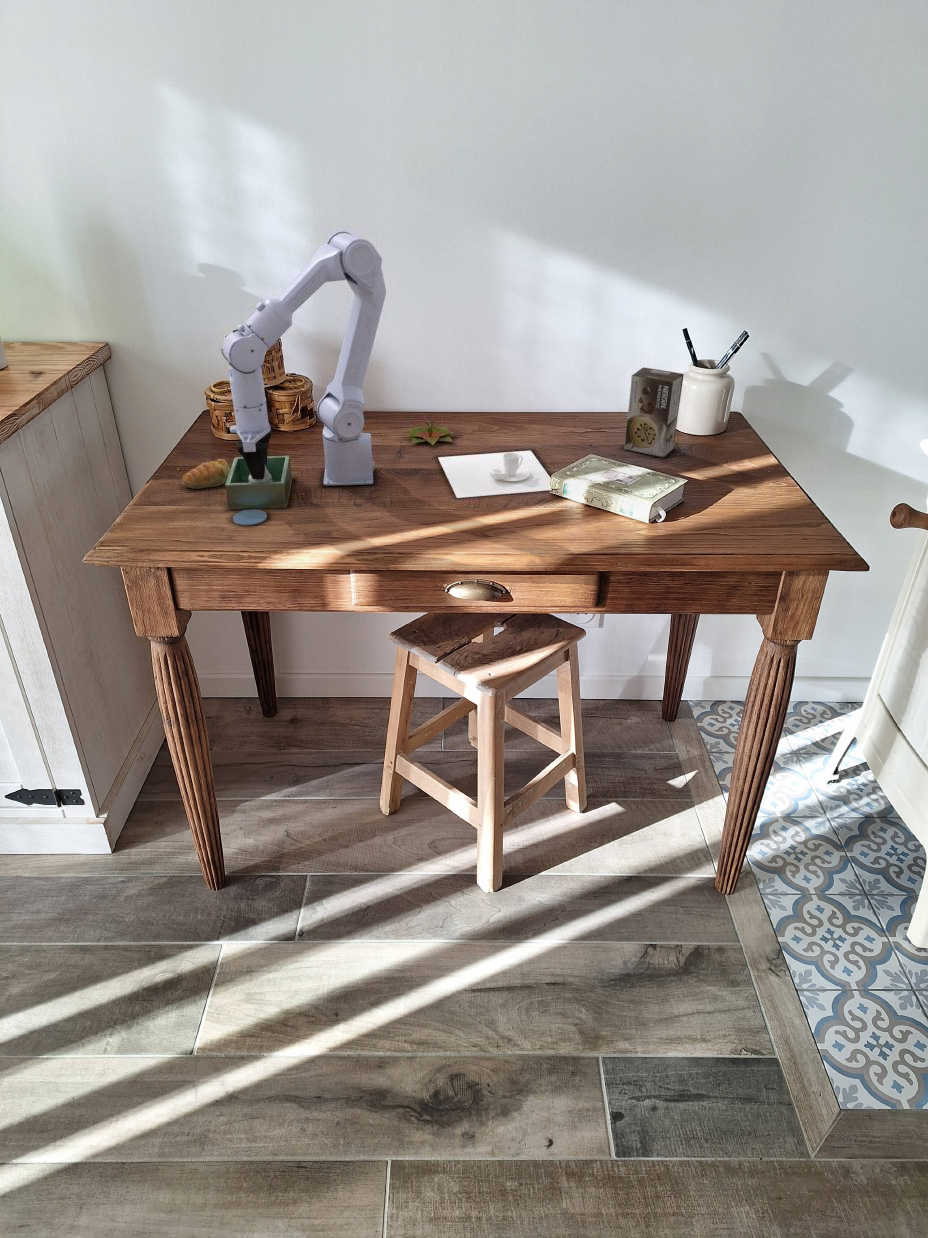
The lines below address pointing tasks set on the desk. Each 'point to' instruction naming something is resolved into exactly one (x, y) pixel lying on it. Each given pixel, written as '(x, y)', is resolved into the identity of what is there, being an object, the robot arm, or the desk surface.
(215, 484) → the pastry
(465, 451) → the desk surface
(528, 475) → the teacup and saucer
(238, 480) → the open box
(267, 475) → the rook chess piece
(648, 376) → the coffee box
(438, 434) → the lily flower
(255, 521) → the tile coaster
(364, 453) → the robot arm
